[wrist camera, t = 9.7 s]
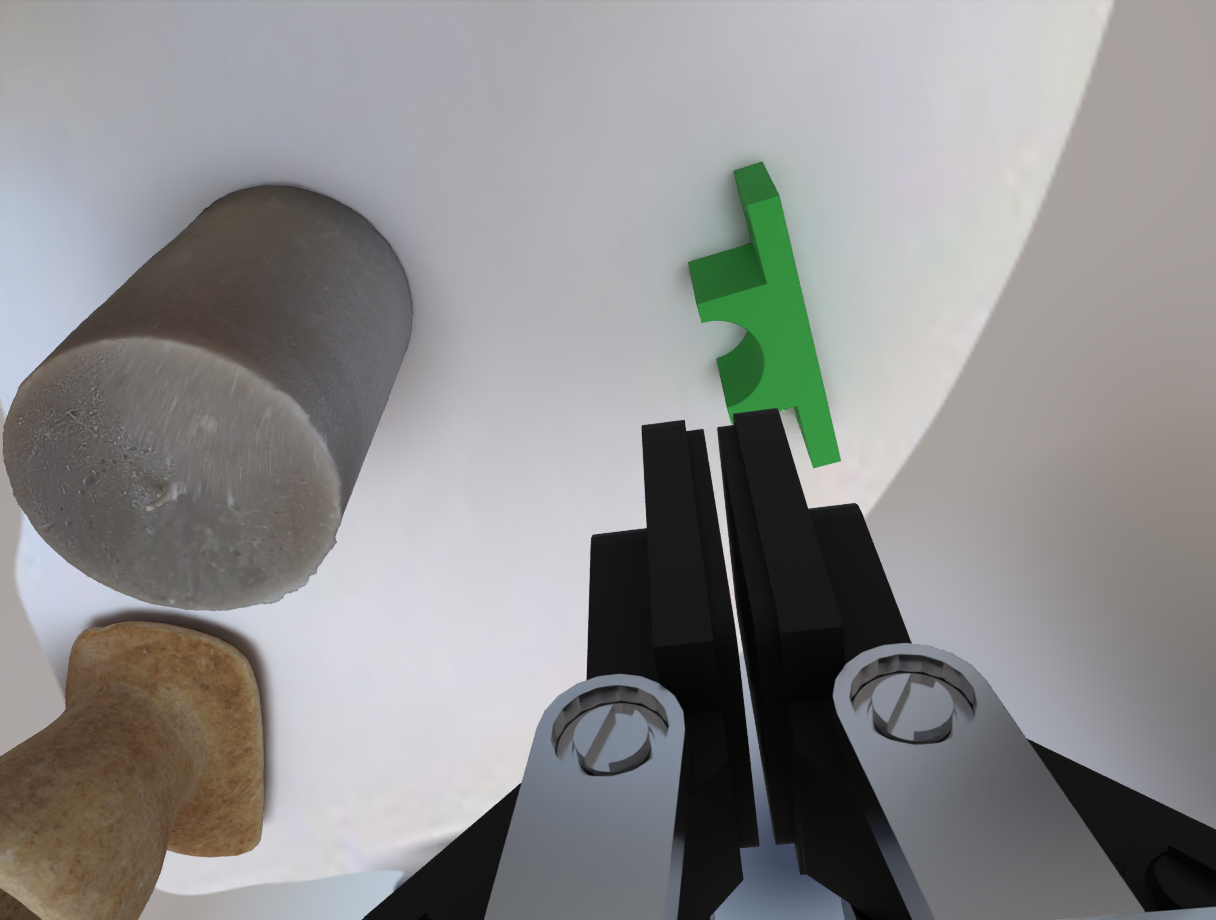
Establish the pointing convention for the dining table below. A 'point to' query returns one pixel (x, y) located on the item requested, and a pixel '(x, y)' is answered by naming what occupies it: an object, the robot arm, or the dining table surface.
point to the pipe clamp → (766, 320)
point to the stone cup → (131, 774)
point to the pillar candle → (216, 405)
